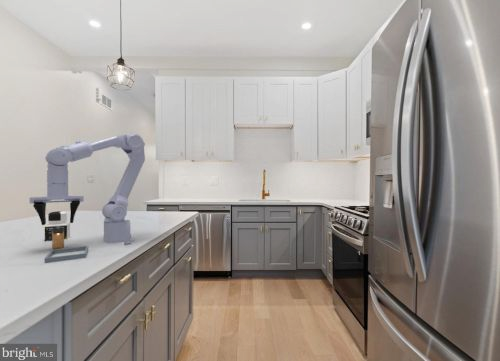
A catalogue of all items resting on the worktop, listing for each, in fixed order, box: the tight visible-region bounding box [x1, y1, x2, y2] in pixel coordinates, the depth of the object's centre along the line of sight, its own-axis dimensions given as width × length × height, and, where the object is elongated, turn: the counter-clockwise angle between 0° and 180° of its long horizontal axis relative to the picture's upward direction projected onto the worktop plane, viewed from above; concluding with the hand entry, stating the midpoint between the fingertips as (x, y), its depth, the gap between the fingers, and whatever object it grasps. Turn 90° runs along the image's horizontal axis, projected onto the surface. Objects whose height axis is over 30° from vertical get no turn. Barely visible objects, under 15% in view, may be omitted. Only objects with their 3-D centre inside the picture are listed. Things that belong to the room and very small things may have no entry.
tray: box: [44, 245, 89, 264], centre depth 79 cm, size 10×10×2 cm
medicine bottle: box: [44, 210, 71, 242], centre depth 101 cm, size 7×7×12 cm
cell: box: [51, 226, 65, 250], centre depth 86 cm, size 3×3×8 cm
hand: (58, 223), depth 85 cm, fingers open, 7 cm apart
